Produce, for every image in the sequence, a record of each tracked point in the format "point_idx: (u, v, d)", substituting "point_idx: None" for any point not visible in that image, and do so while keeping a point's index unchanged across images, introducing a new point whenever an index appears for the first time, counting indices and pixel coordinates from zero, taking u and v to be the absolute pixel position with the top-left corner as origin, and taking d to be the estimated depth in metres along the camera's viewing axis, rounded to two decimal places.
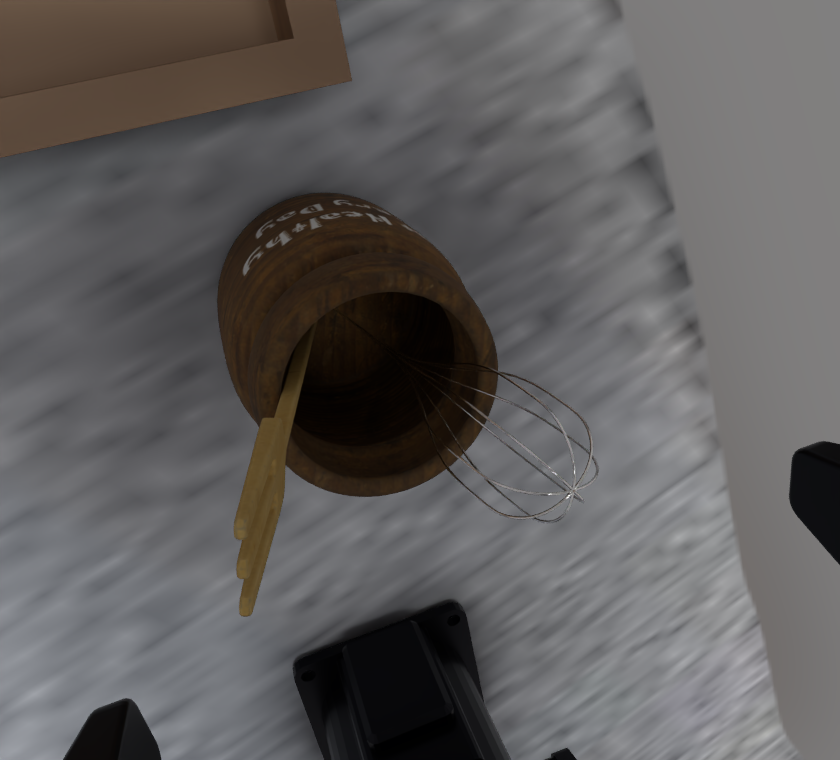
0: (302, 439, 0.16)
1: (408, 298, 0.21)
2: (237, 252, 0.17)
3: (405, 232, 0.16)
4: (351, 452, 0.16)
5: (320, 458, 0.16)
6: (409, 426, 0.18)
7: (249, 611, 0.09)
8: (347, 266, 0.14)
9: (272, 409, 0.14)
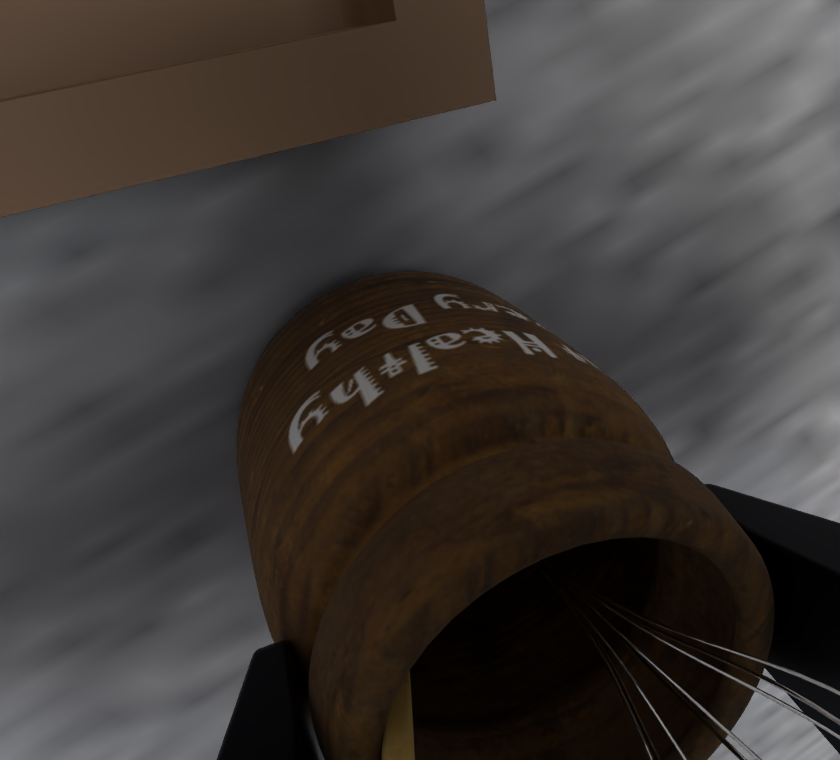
0: None
1: None
2: (273, 384, 0.10)
3: (583, 372, 0.09)
4: (478, 751, 0.09)
5: None
6: (554, 662, 0.11)
7: None
8: (521, 489, 0.07)
9: None
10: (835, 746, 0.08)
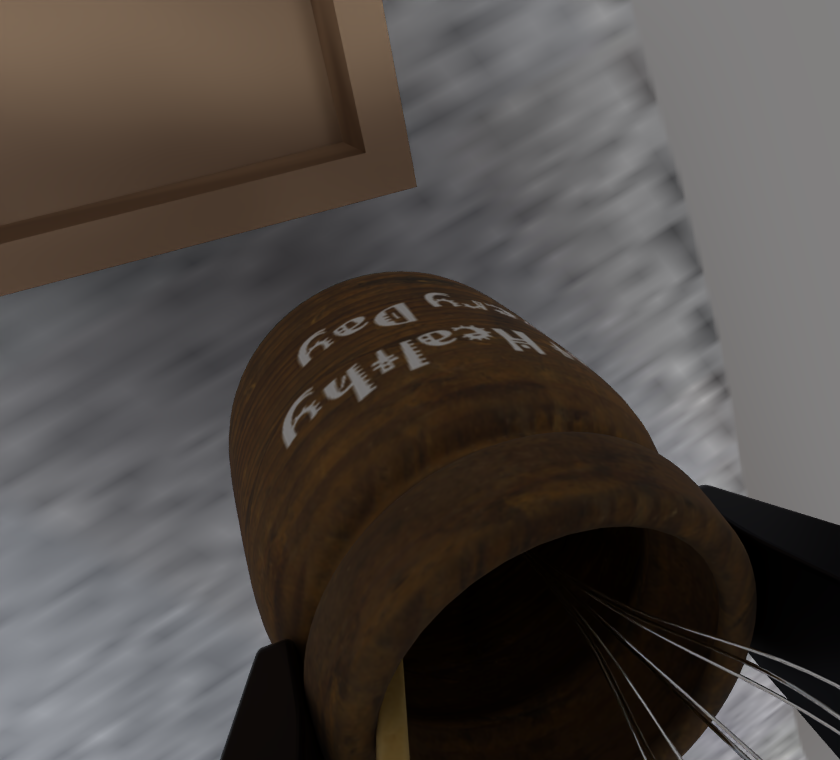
0: None
1: None
2: (266, 382, 0.10)
3: (571, 368, 0.09)
4: (469, 740, 0.09)
5: None
6: (542, 654, 0.11)
7: None
8: (512, 480, 0.07)
9: None
10: (832, 748, 0.08)
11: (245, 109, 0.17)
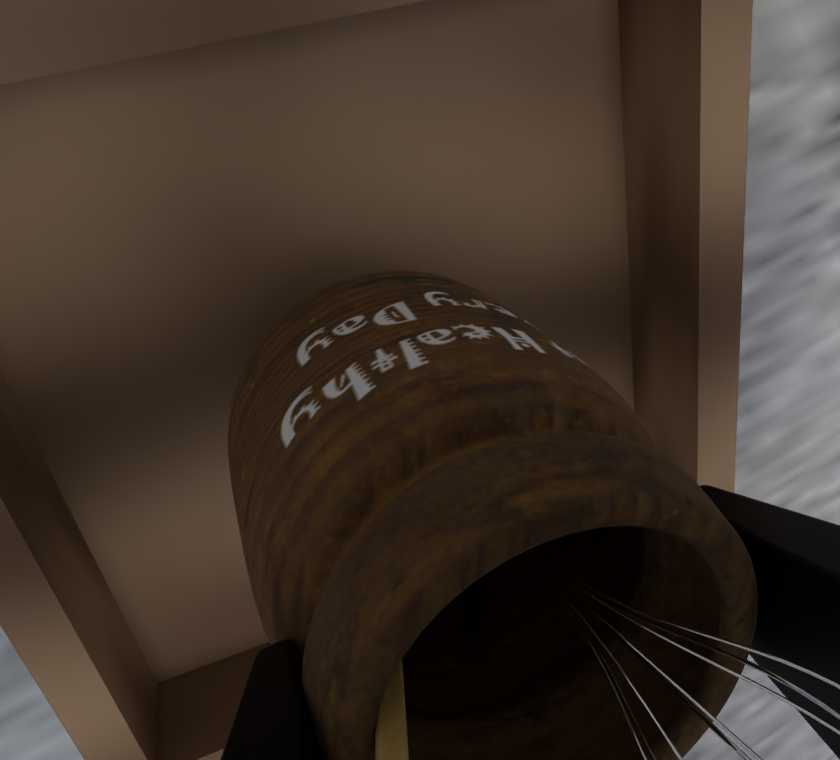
0: None
1: None
2: (264, 381, 0.10)
3: (571, 367, 0.09)
4: (469, 741, 0.09)
5: None
6: (542, 655, 0.11)
7: None
8: (512, 479, 0.07)
9: None
10: (832, 748, 0.08)
11: None
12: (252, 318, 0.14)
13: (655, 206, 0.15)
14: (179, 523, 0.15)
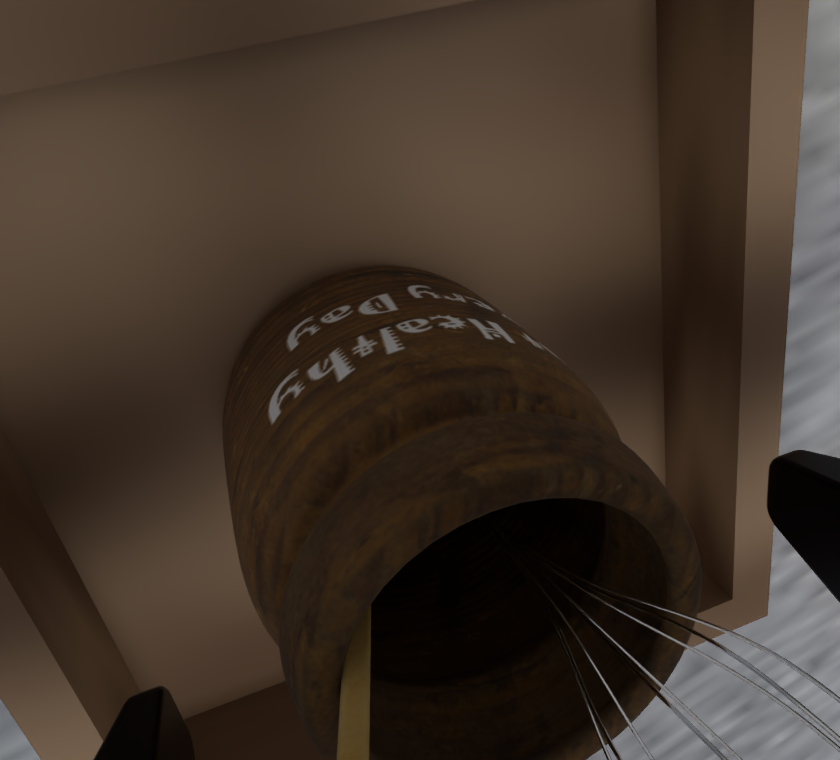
0: None
1: None
2: (257, 365, 0.11)
3: (538, 357, 0.10)
4: (437, 703, 0.10)
5: (391, 728, 0.09)
6: (512, 630, 0.12)
7: None
8: (470, 453, 0.07)
9: (326, 705, 0.08)
10: None
11: None
12: None
13: (694, 224, 0.14)
14: (183, 562, 0.14)
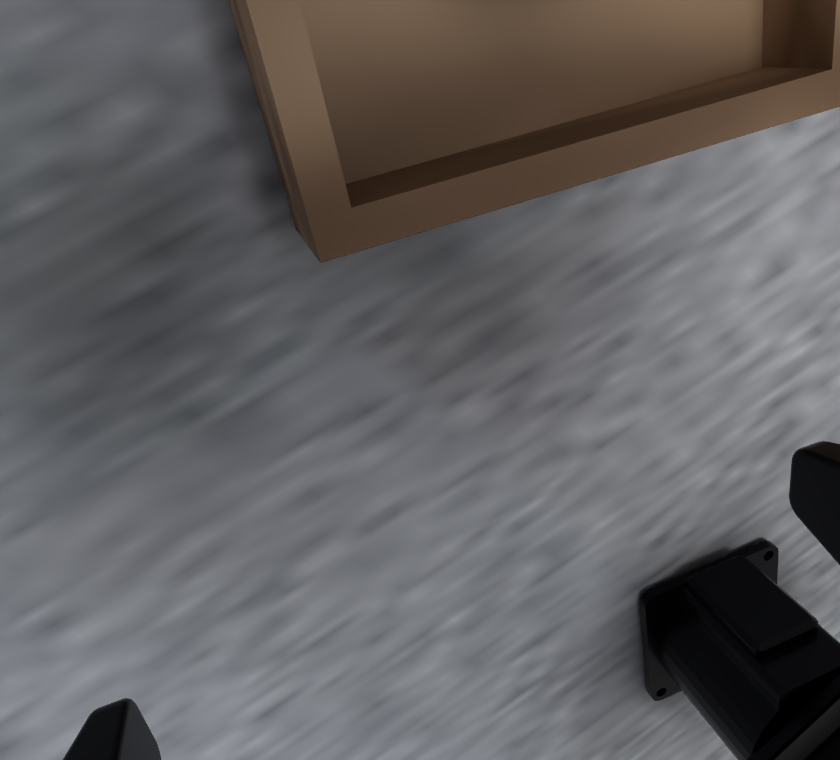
0: None
1: None
2: None
3: None
4: None
5: None
6: None
7: None
8: None
9: None
10: None
11: (697, 37, 0.20)
12: None
13: None
14: None
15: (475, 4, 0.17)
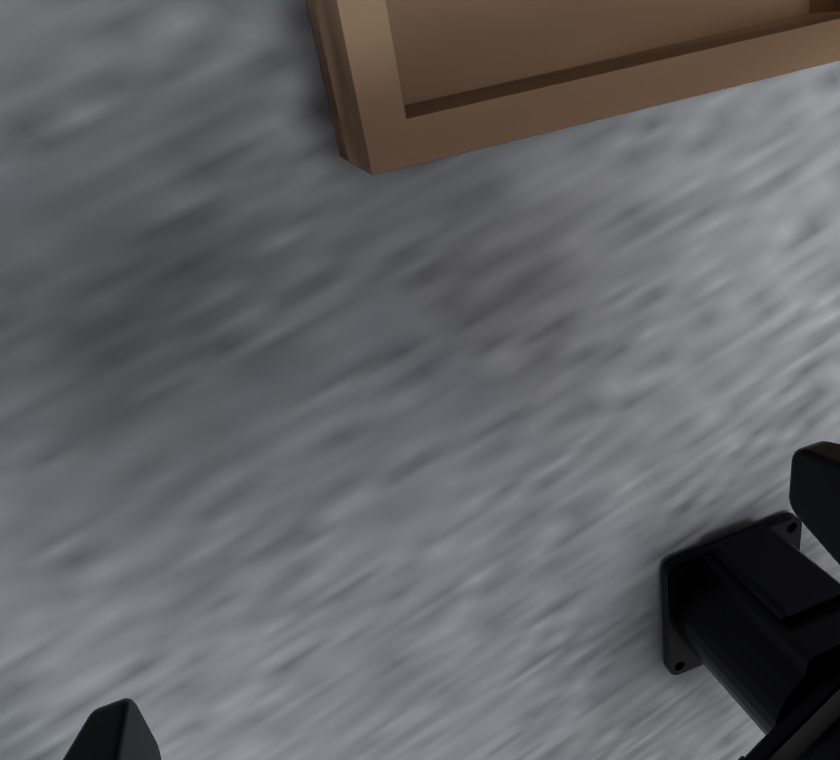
0: None
1: None
2: None
3: None
4: None
5: None
6: None
7: None
8: None
9: None
10: None
11: None
12: None
13: None
14: None
15: None
